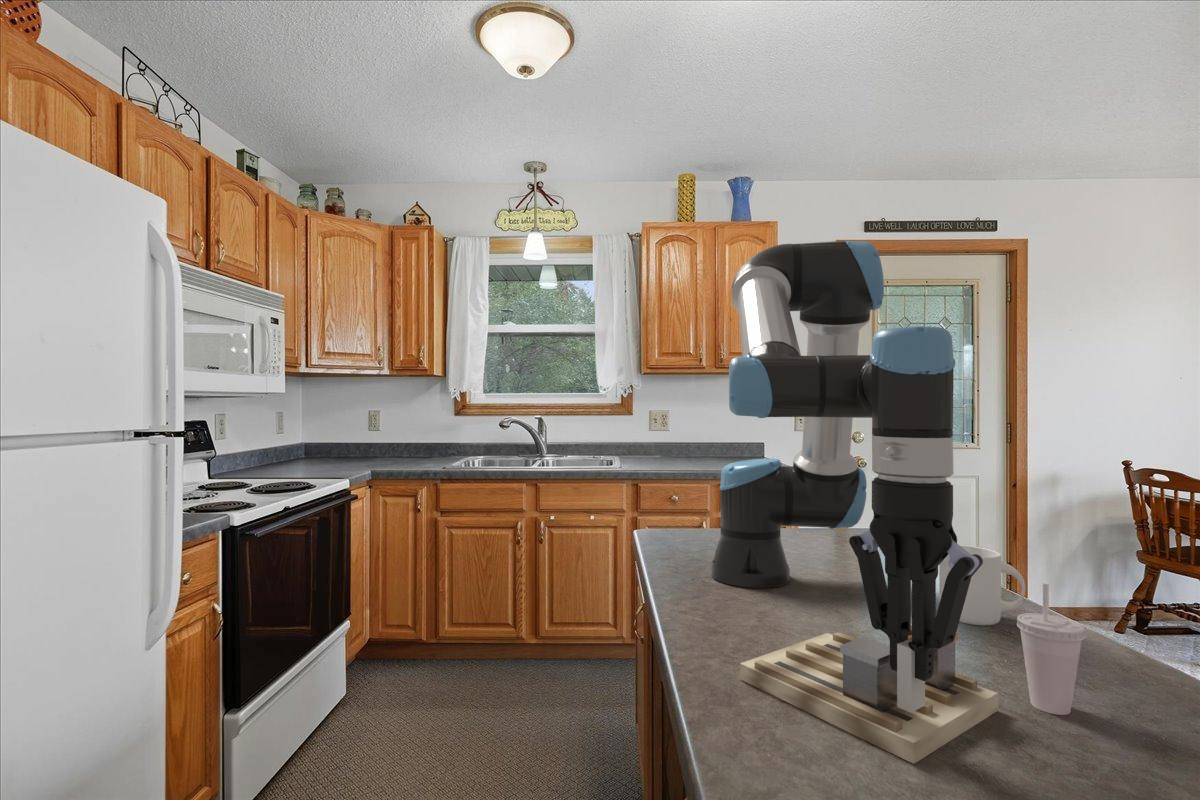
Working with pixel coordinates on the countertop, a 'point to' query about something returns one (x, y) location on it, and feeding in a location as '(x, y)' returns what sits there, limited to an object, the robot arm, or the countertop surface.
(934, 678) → the block
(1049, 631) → the smoothie
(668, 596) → the countertop surface
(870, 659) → the fader
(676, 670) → the countertop surface
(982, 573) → the mug
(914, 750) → the beige flat board
